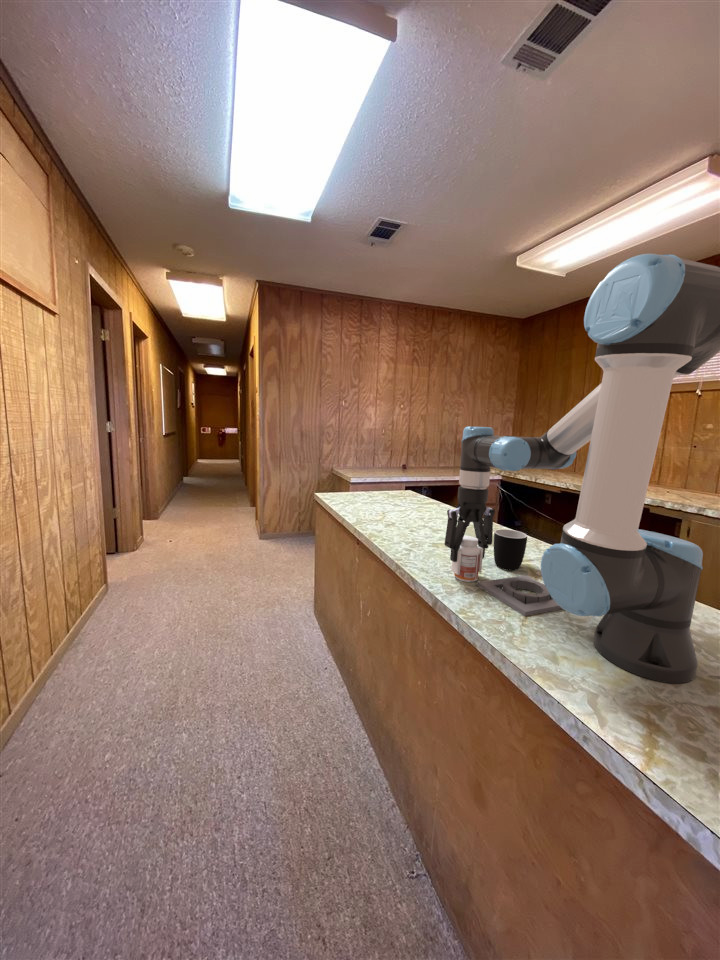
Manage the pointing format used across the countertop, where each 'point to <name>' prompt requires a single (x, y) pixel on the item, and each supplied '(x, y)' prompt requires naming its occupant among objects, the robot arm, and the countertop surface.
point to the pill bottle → (469, 559)
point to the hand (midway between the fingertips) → (466, 571)
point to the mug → (509, 548)
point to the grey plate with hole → (521, 594)
